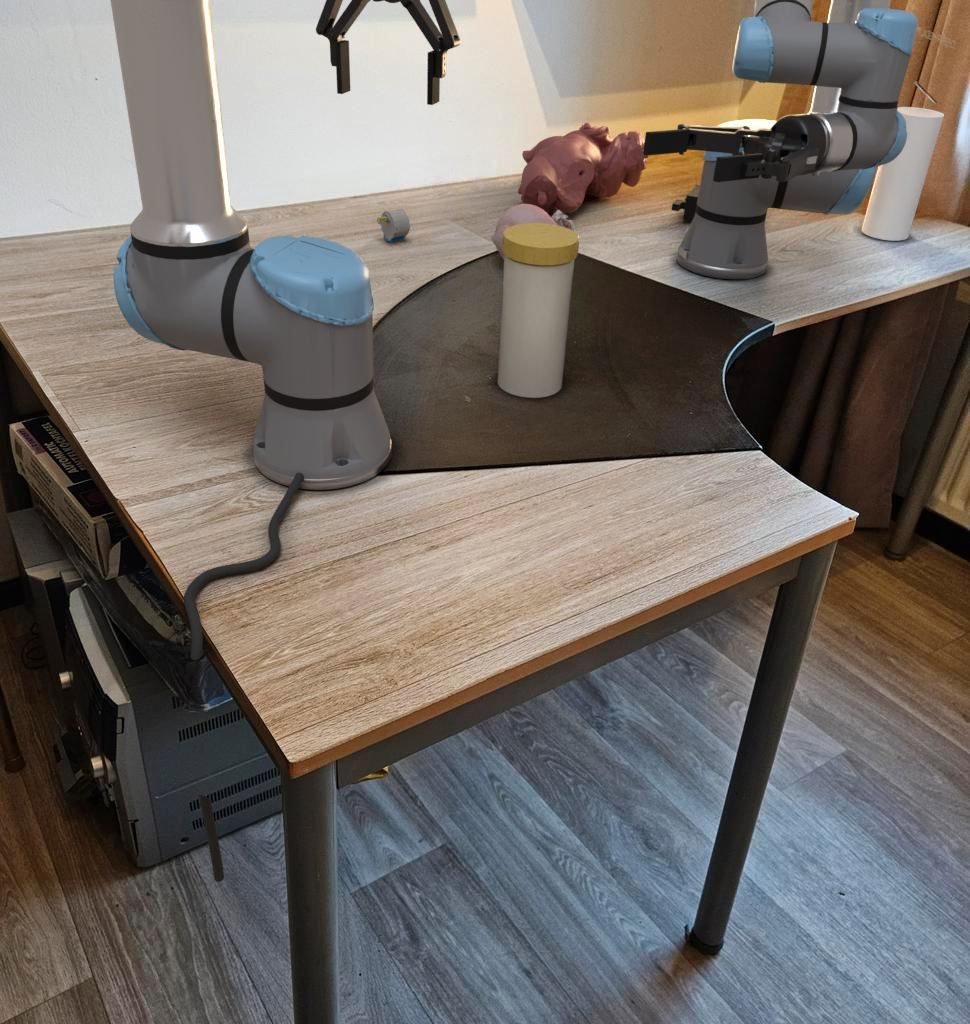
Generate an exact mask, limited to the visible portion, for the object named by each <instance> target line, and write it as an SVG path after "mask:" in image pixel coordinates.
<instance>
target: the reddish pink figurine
mask: <svg viewBox="0 0 970 1024" xmlns="http://www.w3.org/2000/svg"><path fill="white" fill-rule="evenodd" d="M610 130H611V129H610V127H608V126H607V125H605V126H604V125H602V126H600V127H598V126H592V125H591V124H590V123H589V122H585V123H584V124H581V126H580V127H579V129H576V130H573V131H570V132H568V133H566V134H565V135H554V136H549V137H546V138H544V139H542V140H540V141H539V142H538V143H536V145H535V146H534V147H532V148H531V149H529V150H523V151H522V153H521V156H522V158H523V160H524V162H525V163H526V164H525V166H524V168H523V170H522V172H521V173H522V174H521V180H520V181H521V182H520V185H519V186H518V189H517V194H518V195H520V200H521V202H522V204H530V205H535V206H537V207H539V208H541V209H543V210H544V211H545V212H546V213H547V214H548V213H549V212H551V211H552V210H553V209H554V208H555V209H556V211H557V210H560V211H561V212H562V213H564V214H569V213H573V212H575V211H578V209H579V208H581V206H582V203H584V199H585V195H591V196H593V197H596V198H599V197H604V198H606V197H608V198H610V197H613V196H614V195H617V194H618V192H619V191H620V189H621V186H622V184H624V185H625V186H627V187H631V188H635V187H636V186H637V185H638V184H639V183H640V181H641V178H642V174H643V171H645V170H646V169H647V164H648V161H647V160H648V157H649V155H648V156H646V155H644V154H643V150H644V143H645V137H644V135H643V134H642V132H638V131H636V130H631V131H628V132H627V131H624V132H621V133H618V135H617V136H615V137H614V138H612V137H611V136H610V135H609V134H610Z"/></svg>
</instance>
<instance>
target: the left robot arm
mask: <svg viewBox="0 0 970 1024" xmlns="http://www.w3.org/2000/svg"><path fill="white" fill-rule="evenodd" d="M343 1H344V0H325V3H324V5H323V8H322V11H321V13H320V16H319V19H318V22H317V24H316V27H315V33H316V34H317V35H318V36H323V37H324V38H326V39H327V40H328V42H329V54H330V56H329V57H330V65H331V67H335V70H336V71H335V72H336V94H339V95H343V94H346V93H349V92H351V67H350V66H351V63H350V41H349V40H345V38H346V36H345V35H347V33H348V31H349V30H350V29H351V27H352V26H353V24H354V23H355V21H356V20H357V19H358V18H359V16H360V14H361V13H362V12H363V10H364V9H365V8H366V6H367V5H368V4H369V3H370V2H371V1H372V2H377V3H380V2H384V1H385V2H387V3H389V4H398V3H400V4H401V5H402V7H403V8H405V9H406V10H407V12H408V13H409V15H410V17H411V18H412V20H413V21H414V22H415V24H416V26H417V27H418V29H419V31H420V32H421V33H422V35H423V36H424V38H425V39H426V40H427V43H428V44H429V46H430V47H431V48H432V50H431V51H428V52H427V74H426V75H427V79H426V80H427V85H426V87H427V88H426V105H429V106H433V105H435V104H438V103H440V93H441V92H440V91H441V90H440V89H441V87H440V86H441V83H440V81H441V79H443V78H445V77H446V74H447V54H448V51H449V50H451V49H454V48H457V47H459V46H460V45H461V42H462V41H461V38H460V35H459V33H458V30H457V27H456V24H455V22H454V19H453V17H452V14H451V11H450V9H449V7H448V4H447V1H446V0H428V2H429V5H430V8H431V10H432V13H433V15H434V18H435V21H436V23H437V25H438V26H437V25H436V23H435V22H434V20H433V19H432V17H431V15H429V13H428V11H427V9H426V8H425V6H424V5H423V3H422V2H421V0H351V1H350V2H349V3H348V5H347V6H346V8H345V9H344V11H343V12H342V14H341V15H340V16H339V18H338V19H337V17H338V14H339V12H340V9H341V6H342V4H343ZM110 6H111V12H112V19H113V20H112V21H113V27H114V31H115V39H116V45H117V52H118V59H119V64H120V70H121V77H122V84H123V90H124V96H125V97H124V98H125V103H126V110H127V116H128V122H129V123H128V124H129V129H130V136H131V142H132V149H133V156H134V161H135V169H136V175H137V180H138V187H139V194H140V199H141V206H142V210H141V211H140V212H139V214H138V215H137V216H136V217H135V218H134V220H133V221H132V222H131V224H130V225H129V232H130V236H128V237H127V238H126V239H125V240H124V241H123V243H122V244H121V246H120V247H119V249H118V252H117V256H116V260H117V261H118V265H117V266H114V268H113V288H114V294H115V298H116V302H117V305H118V307H119V310H120V312H121V315H122V316H123V318H124V319H125V321H126V323H127V324H128V325H129V327H130V328H131V329H133V331H134V332H136V333H137V334H138V335H139V336H141V337H143V338H144V339H145V340H148V341H150V342H154V343H157V344H161V345H164V346H167V347H169V348H171V349H174V350H178V351H191V352H197V353H202V354H207V355H211V356H216V357H222V358H226V359H231V360H236V361H242V362H248V363H251V364H252V363H253V364H257V365H259V366H261V370H262V379H263V388H264V390H263V391H264V396H263V400H262V404H261V408H260V412H259V415H258V419H257V423H256V427H255V430H254V434H253V439H252V441H253V442H252V455H253V460H254V464H255V467H256V468H257V470H258V471H259V472H260V473H261V474H262V475H263V476H265V477H266V478H268V479H269V480H271V481H273V482H275V483H278V484H280V485H283V486H286V487H288V488H287V490H286V491H285V493H284V495H283V497H282V499H281V501H280V502H279V504H278V506H277V508H275V511H274V513H273V515H272V516H271V519H270V520H269V524H268V527H267V529H268V530H267V533H268V538H269V543H270V549H269V550H268V552H266V553H265V554H264V555H262V556H260V557H257V558H255V559H252V560H248V561H243V562H238V563H231V564H226V565H220V566H216V567H213V568H209V569H207V570H205V571H203V572H201V573H199V574H198V575H197V576H196V577H195V578H194V579H193V580H192V581H191V582H190V583H189V585H188V586H187V587H186V590H185V591H184V595H183V604H184V608H185V611H186V615H187V618H188V621H189V627H190V659H191V660H192V661H198V660H199V659H201V658H202V657H203V650H204V649H203V648H204V646H203V645H204V637H203V636H204V635H203V626H202V622H201V621H202V620H201V617H200V613H199V610H198V607H197V603H196V595H197V593H198V592H199V590H201V588H202V587H203V586H204V585H206V584H207V583H208V582H210V581H211V580H214V579H217V578H221V577H225V576H231V575H237V574H243V573H249V572H252V571H257V570H259V569H262V568H264V567H265V568H266V567H267V566H268V565H270V564H272V563H273V562H274V561H275V560H276V559H277V557H278V556H279V555H280V553H281V549H282V544H281V543H282V542H281V539H280V535H279V527H280V525H281V521H282V519H283V517H284V515H285V513H286V512H287V510H288V508H289V507H290V505H291V503H292V501H293V499H294V498H295V496H296V494H297V492H298V490H299V489H301V490H312V491H314V490H315V491H323V490H327V491H328V490H337V489H342V488H348V487H351V486H355V485H358V484H361V483H363V482H366V481H368V480H370V479H373V478H374V477H375V476H377V475H378V474H380V473H381V472H382V471H383V470H384V469H385V468H386V467H387V466H388V464H389V463H390V461H391V458H392V438H391V432H390V430H389V427H388V424H387V422H386V419H385V417H384V413H383V411H382V408H381V406H380V403H379V400H378V398H377V395H376V393H375V385H374V320H373V319H374V318H373V317H374V315H373V314H374V308H375V301H374V297H373V292H372V283H371V275H370V270H369V267H368V266H367V264H366V263H365V262H364V260H363V259H362V258H361V257H360V256H359V254H357V253H356V252H355V251H353V250H352V249H351V248H348V247H346V246H345V245H343V244H340V243H338V242H335V241H331V240H329V239H324V238H322V237H317V236H310V235H300V236H299V237H296V236H293V235H288V234H287V235H279V236H273V237H269V238H265V239H264V240H262V241H260V242H259V243H258V244H257V245H255V247H254V248H253V247H251V242H250V241H251V240H250V233H249V223H248V220H247V219H246V218H245V216H243V215H242V214H240V213H239V212H238V211H237V210H236V209H234V207H233V206H232V203H231V194H230V185H229V183H230V182H229V175H228V174H229V173H228V165H227V156H226V155H227V154H226V146H225V137H224V129H223V128H224V127H223V118H222V117H223V115H222V106H221V97H220V88H219V78H218V67H217V59H216V57H217V56H216V49H215V40H214V30H213V29H214V28H213V21H212V20H213V19H212V11H211V2H210V0H110ZM336 19H337V21H336ZM198 798H199V803H200V810H201V813H202V814H201V815H202V819H203V824H204V829H205V834H206V839H207V844H208V850H209V855H210V861H211V866H212V872H213V879H214V881H215V882H217V883H220V882H222V881H223V880H224V879H225V872H224V866H223V860H222V859H223V858H222V854H221V848H220V847H221V846H220V842H219V837H218V836H219V835H218V831H217V825H216V821H215V815H214V810H213V805H212V799H211V798H210V797H209V796H206V795H203V794H198Z"/></svg>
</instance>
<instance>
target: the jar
mask: <svg viewBox="0 0 970 1024" xmlns="http://www.w3.org/2000/svg"><path fill="white" fill-rule="evenodd" d="M575 260H576V258H575V259H574V260H573V261H571V262H568V263H565V264H559V265H532V264H526V263H522V262H518V261H515V260H512V259H510V258H508V257H507V256H506V255H504V259H503V271H502V272H503V274H502V288H501V289H502V290H501V306H500V307H501V310H500V311H501V312H500V327H499V344H498V358H497V359H498V361H497V376H496V377H497V379H496V383H497V385H498V388H500V389H501V390H502V391H503V392H506V393H508V394H510V395H513V396H515V397H520V398H526V399H527V398H529V399H540V398H546V397H550V396H553V395H556V394H557V393H559V392H560V391H561V389H562V387H563V380H564V370H565V360H566V351H567V350H566V349H567V341H568V330H569V321H570V320H569V319H570V310H571V309H570V308H571V300H572V289H573V281H574V280H573V279H574V271H575Z"/></svg>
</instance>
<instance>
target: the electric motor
mask: <svg viewBox="0 0 970 1024" xmlns="http://www.w3.org/2000/svg"><path fill="white" fill-rule="evenodd" d="M376 222H377V224H378V225H380V227H381V231H382V233H383V238H384V240H385V241H388V242H389V243H394V242H395V243H396V242H399V241H404V240H405V238H406V236H407V235H409V233H410V229H411V222H410V218H409V216H408V213H407V212H406V210H404V209H403V208H397V209H392V210H387V211H384V212H383V213H382V214H381V216H378V217H377V218H376Z"/></svg>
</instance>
